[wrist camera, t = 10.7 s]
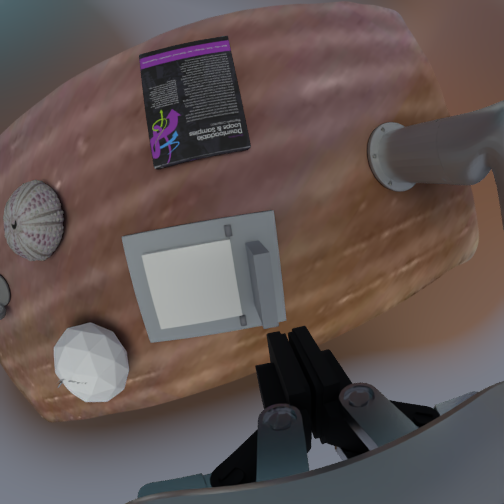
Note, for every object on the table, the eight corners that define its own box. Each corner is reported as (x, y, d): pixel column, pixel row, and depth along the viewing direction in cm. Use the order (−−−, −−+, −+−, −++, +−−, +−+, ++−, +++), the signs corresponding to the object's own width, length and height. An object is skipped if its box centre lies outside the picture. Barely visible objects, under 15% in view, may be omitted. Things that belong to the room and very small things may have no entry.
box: (143, 62, 34) (157, 171, 38) (138, 53, 30) (151, 168, 35) (227, 45, 35) (248, 151, 39) (228, 34, 31) (251, 147, 36)
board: (271, 210, 41) (288, 215, 32) (284, 317, 45) (300, 345, 36) (124, 235, 39) (101, 248, 30) (151, 339, 43) (140, 371, 34)
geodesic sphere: (78, 400, 38) (90, 435, 28) (34, 342, 34) (29, 365, 24) (130, 362, 47) (156, 385, 36) (92, 303, 43) (106, 312, 33)
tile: (141, 255, 37) (143, 253, 38) (161, 329, 40) (162, 326, 41) (229, 239, 39) (229, 238, 40) (242, 315, 42) (241, 312, 43)
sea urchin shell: (53, 271, 38) (29, 286, 30) (8, 231, 35) (-19, 238, 27) (82, 205, 37) (57, 209, 29) (32, 166, 34) (5, 164, 26)
